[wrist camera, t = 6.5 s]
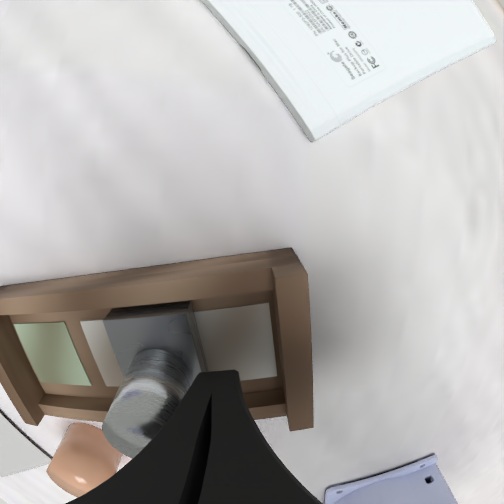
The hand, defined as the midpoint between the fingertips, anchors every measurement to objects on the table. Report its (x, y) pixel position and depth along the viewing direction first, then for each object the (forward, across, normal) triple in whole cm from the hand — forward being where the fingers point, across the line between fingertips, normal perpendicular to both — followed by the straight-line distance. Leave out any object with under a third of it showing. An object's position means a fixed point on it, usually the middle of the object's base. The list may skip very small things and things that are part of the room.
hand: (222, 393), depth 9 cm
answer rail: (+4, +4, 0) cm, 6 cm away
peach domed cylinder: (+4, +10, +8) cm, 14 cm away
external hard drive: (+5, -8, -14) cm, 17 cm away
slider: (+3, +2, 0) cm, 3 cm away
